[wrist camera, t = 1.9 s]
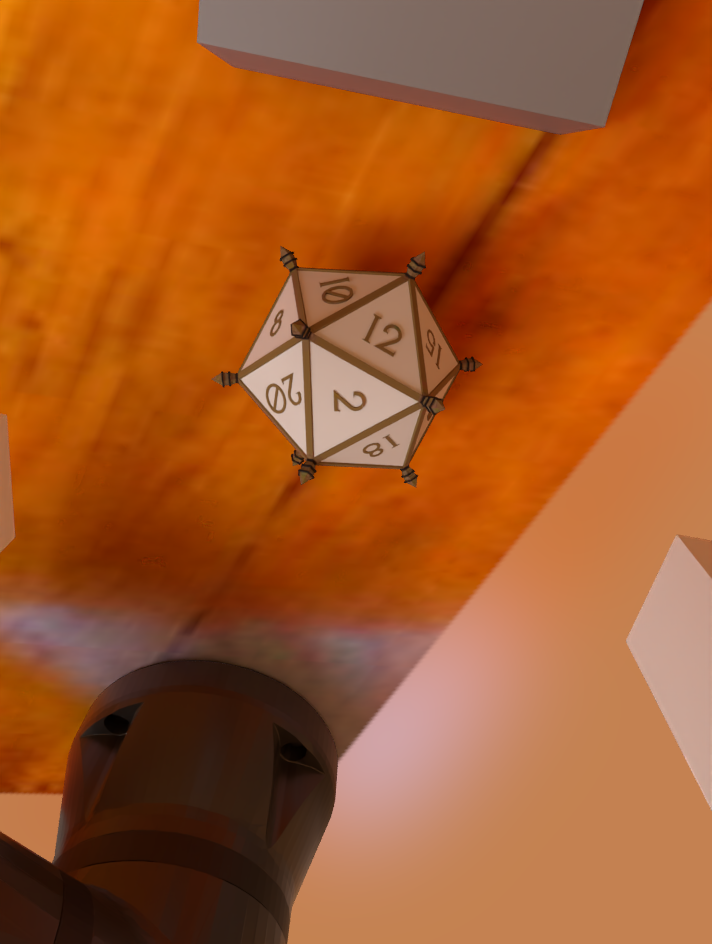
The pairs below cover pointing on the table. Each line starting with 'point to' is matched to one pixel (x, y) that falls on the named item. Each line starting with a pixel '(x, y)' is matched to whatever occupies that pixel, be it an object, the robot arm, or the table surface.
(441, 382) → the game die
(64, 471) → the table surface
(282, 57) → the gray block
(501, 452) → the table surface
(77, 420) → the table surface
